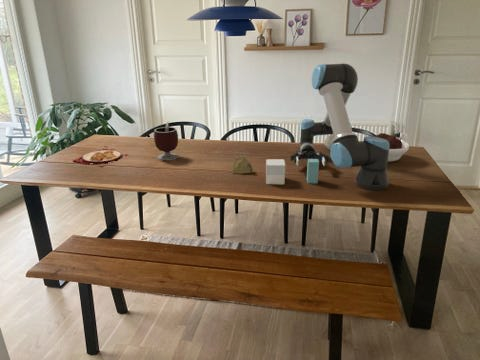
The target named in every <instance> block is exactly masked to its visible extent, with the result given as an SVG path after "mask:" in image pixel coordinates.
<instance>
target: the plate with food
mask: <svg viewBox="0 0 480 360" xmlns="http://www.w3.org/2000/svg"><path fill="white" fill-rule="evenodd" d="M122 155H123V154H122V153H121V152H120V151H118V150H115V149H114V148H112V149H111V148H110V149H108V146H105V145H104V148H102V149H100V150H94V151H91V152H86V153H84V154H83V155H82V156H79V158H76V159H72V161H74V162H76V163H80V164H86V165H90V163H101V164H104V163H106V162H111V161H114V160H116V159H117V160H119V159H121V158H120V157H123V156H122ZM125 156H128V154H127V153H126V154H125ZM118 158H119V159H118ZM111 163H112V162H111ZM103 166H104V167H105V166H106V164H105V165H103ZM99 167H100V168H101V167H102V165H99Z"/></svg>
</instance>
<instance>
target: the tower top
mask: <svg viewBox="0 0 480 360" xmlns="http://www.w3.org/2000/svg"><path fill="white" fill-rule="evenodd" d="M265 161H266V162H265V176H266V175H285V176H286V162H285V159H279V158H277V159H275V158H274V159H272V158H271V159H270V158H269V159H265Z"/></svg>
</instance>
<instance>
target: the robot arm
mask: <svg viewBox="0 0 480 360" xmlns="http://www.w3.org/2000/svg"><path fill="white" fill-rule="evenodd" d="M358 80H359V78H358V72H357V71H356V69H355V68H354V66H351V64H348V63H330V64H329V63H327V64H326V63H323V64H318V65H316V66H315V67H314V69H313V71H312V75H311V86H312V88H313V89H314V90H317V91H318V94H319V95H320V96H321V97H323V101H324V104H325V107H326V115H324V116H325V117H324V119H323V121H319V122H315V120H314V119H311V118H309V119H308V118H305V119H303V120H301V122H300V137H299V138H300V139H299V146H298V147H299V148H300V149H299V150H300V152H299V151H295V153H293V154H292V155H290V161H291V162H293V163H295V164H296V166H297V167H299V161H300V160H304V159H305V160H308V159H318V160H319V161H321V164H322V165H323V167H325V166H326V163H327V162H329V161H330V159H331V162H332V163H333V164H334V165H335V166H336V167H337V168H341V169H342V168H345V169H349V168H355V167H360V168H359V171H358V173H357V175H356V178H355V185H356V186H357V187H359V188H362V189H365V190H370V191H383V190H386V189H387V188H389V179H388V177H389V176H388V174H387V168H388V162H389V161H388V154H389V145H390V144H389V142H388V141H387V140H385V139H382V138H379V137H372V136H373V135H372V136H369V135H367V136H364V137H363V140H359V137H358V135H357V134H355V133H353V128H352V125H351V122H350V121H351V120H350V118H349V115H348V112H347V108H346V105H347V103H348V101H349V99H350V96H351V94H353V93H354V92H355V90H356V88H357V86H358ZM332 134H334V138H335V139H334V141H333V142H332V143H333V144H332V146H331V148H330V150H329V151H330V153H329V155H330V156H328V155H327V154H324V153H322V152H321V151H318V153H317V152H316V151H315V148H314V137H315V136H327V135H328V136H330V135H332Z"/></svg>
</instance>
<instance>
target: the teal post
mask: <svg viewBox="0 0 480 360" xmlns="http://www.w3.org/2000/svg"><path fill="white" fill-rule="evenodd" d="M319 165H320V160H318V159H312V158H311V159H307V165H306V168H307V170H306V182H307V184H318V183H319V168H320V166H319Z"/></svg>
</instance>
